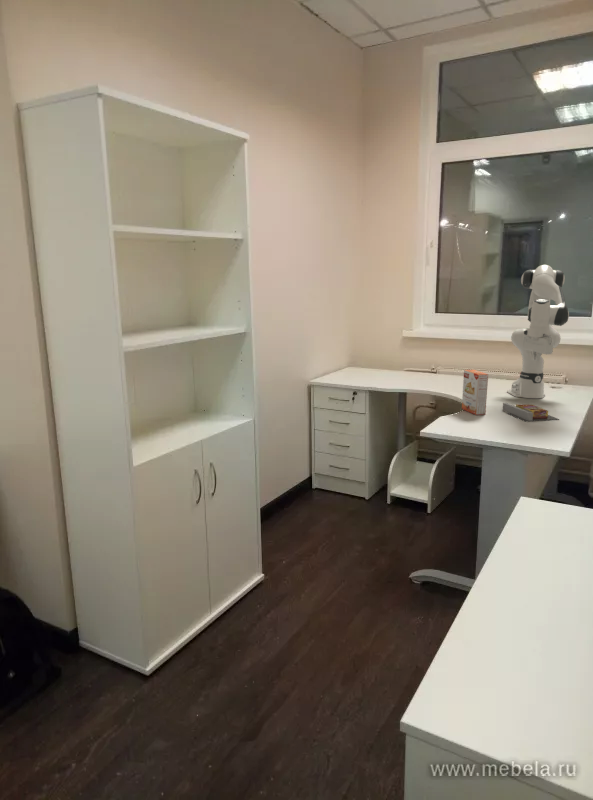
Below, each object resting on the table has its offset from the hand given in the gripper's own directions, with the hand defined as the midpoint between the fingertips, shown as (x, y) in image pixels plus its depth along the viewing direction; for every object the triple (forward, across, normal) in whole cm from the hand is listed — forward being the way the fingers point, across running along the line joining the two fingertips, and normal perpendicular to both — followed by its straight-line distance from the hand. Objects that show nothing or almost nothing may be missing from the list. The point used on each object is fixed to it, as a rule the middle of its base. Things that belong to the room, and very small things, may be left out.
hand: (536, 360), depth 284 cm
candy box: (+24, +1, +4) cm, 25 cm away
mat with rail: (+27, -5, +4) cm, 27 cm away
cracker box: (+27, +7, +28) cm, 40 cm away
